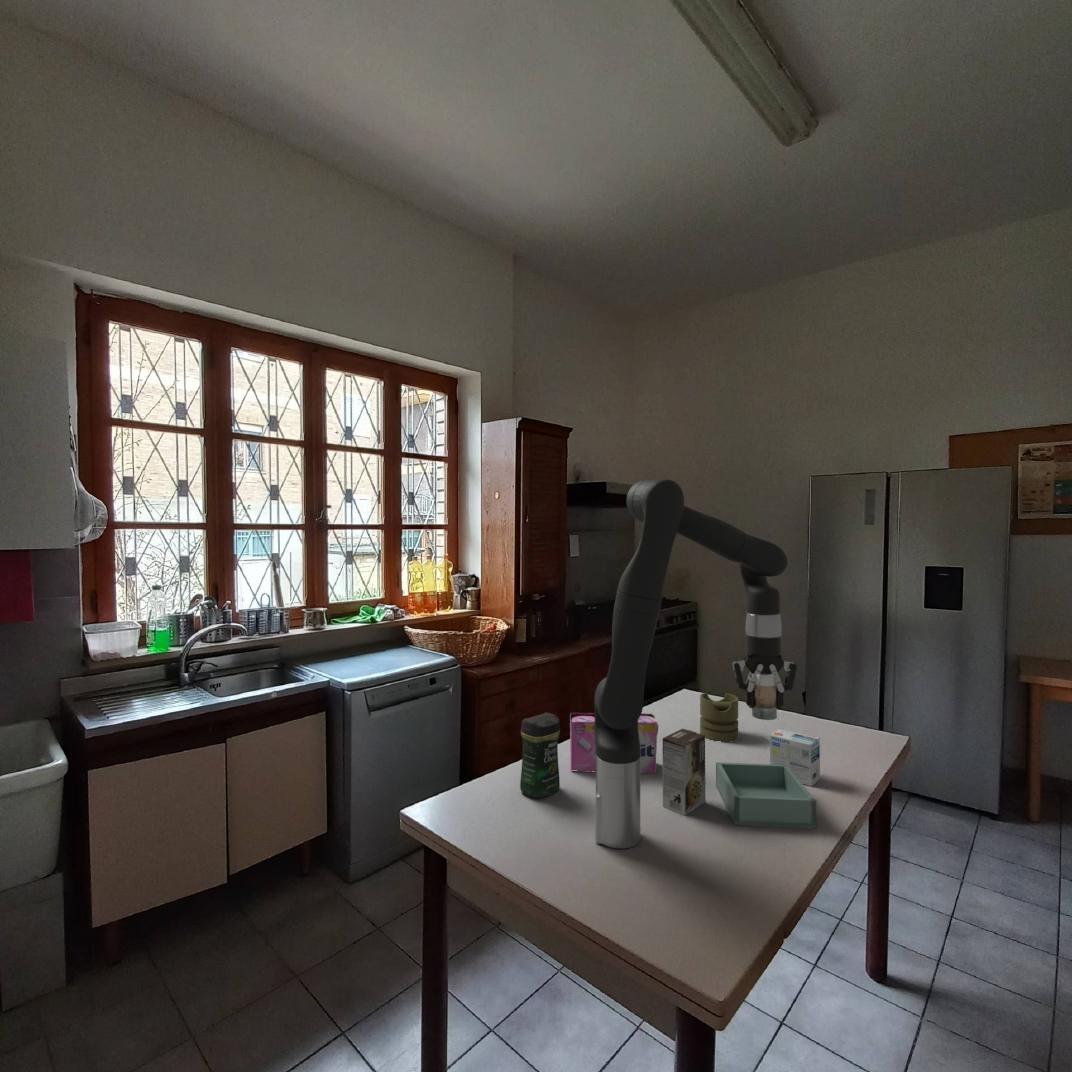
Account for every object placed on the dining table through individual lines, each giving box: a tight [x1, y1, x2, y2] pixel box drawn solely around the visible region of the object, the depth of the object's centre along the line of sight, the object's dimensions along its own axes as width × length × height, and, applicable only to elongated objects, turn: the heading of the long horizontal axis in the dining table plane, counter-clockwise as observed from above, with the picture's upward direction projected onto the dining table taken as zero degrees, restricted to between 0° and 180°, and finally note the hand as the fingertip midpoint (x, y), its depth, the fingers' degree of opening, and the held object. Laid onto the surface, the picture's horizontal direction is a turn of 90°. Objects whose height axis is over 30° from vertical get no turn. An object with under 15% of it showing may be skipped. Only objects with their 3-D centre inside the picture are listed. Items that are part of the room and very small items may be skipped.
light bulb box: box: [769, 728, 821, 787], centre depth 151 cm, size 11×7×11 cm, turn 47°
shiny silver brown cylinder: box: [751, 673, 778, 721], centre depth 132 cm, size 5×5×10 cm
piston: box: [699, 692, 739, 743], centre depth 181 cm, size 11×12×11 cm
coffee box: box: [662, 728, 707, 816], centre depth 136 cm, size 9×6×16 cm
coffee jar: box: [519, 712, 561, 799], centre depth 143 cm, size 10×8×19 cm
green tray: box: [715, 761, 817, 829], centre depth 135 cm, size 17×19×6 cm
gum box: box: [569, 712, 660, 774], centre depth 157 cm, size 24×8×14 cm, turn 88°
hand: (764, 707), depth 132 cm, fingers closed on shiny silver brown cylinder, 5 cm apart
